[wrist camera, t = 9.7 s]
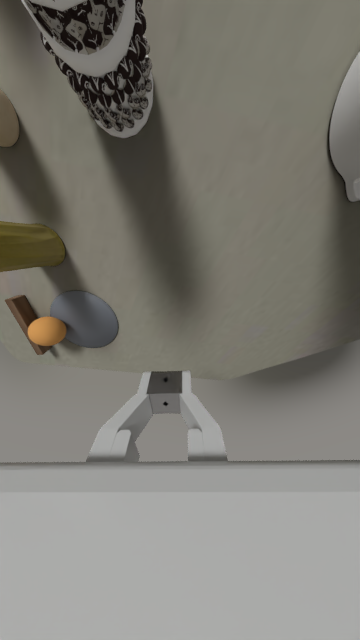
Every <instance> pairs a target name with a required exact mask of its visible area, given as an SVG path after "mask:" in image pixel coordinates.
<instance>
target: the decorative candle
mask: <svg viewBox="0 0 360 640" xmlns="http://www.w3.org/2000/svg"><path fill="white" fill-rule="evenodd" d="M21 1H22V3H23V4H24V6H25V7H26V9H27V10H28V12H29V14H30V15H31V17H32V18H33V20H34V21H35V23H36V25H37V26H38V28H39V29H40V31H41V40H42V43H43V45H44V46H45V48H46V49H47V51H48V52H49V53H50V54H51V55H53V56H55V60H56V63H57V65H58V67H59V69H60V70H61V71H62V73H63V74H65V75H66V76H67V79H68V82H69V84H70V86H71V87H72V89H73V90H74V91H75V92H76V93H77V95H78V97H79V99H80V101H81V102H82V104H83V105H84V106H85V107H86V108H87V109H88V112H89V114H90V115H91V117H92V118H93V119H94V120H95V121H96V123H97V124H98V125H99V126H100V127H101V128H102V129H104V130H105V131H106V132H107V133H109V134H110V135H111V136H116V137H120V138H127V137H130V136H133V135H136V134H137V133H138V132H139V131H140V130H141V129H142V127H143V126H144V125H145V124H146V123H147V120H148V117H149V114H150V111H151V108H152V105H153V78H152V73H151V69H152V63H151V60H150V58H149V57H148V55H147V54H149V52H150V46H149V42H148V40H147V39H146V37H145V36H144V35H143V34H144V33H145V30H146V20H145V16H144V13H143V11H142V9H141V6H142V3H143V0H21Z"/></svg>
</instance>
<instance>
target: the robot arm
mask: <svg viewBox="0 0 360 640" xmlns="http://www.w3.org/2000/svg"><path fill="white" fill-rule="evenodd" d="M329 142H330V152H331V157H332V160H333V163H334V165H335V167H336V169H337V171H338V172H339V173H340V174H341V176H342V177H343V179H344V180H345V183H346V192H347V197H348V199H349V200H350V201H351V202H355V201H359V200H360V52H359V53H358V55H357V56H356V58H355V60H354V61H353V63H352V65H351V67H350V69H349V71H348V73H347V75H346V77H345V79H344V81H343V83H342V86H341V88H340V91H339V94H338V97H337V100H336V103H335V106H334V110H333V114H332V119H331V125H330V138H329ZM159 413H181V415H182V417H183V419H184V421H185V423H186V424H187V427H188V428H189V431H188V461H175V462H174V461H170V462H169V461H167V462H138V461H139V453H138V450H137V447H136V445H135V441H136V439H137V438H138V436H139V435H140V433H141V432H142V430H143V429H144V427H145V426H146V424H147V423H148V421H149V420H150V419H151V417H152V416H153V414H159ZM0 640H360V460H325V461H324V460H321V461H228V460H227V455H226V450H225V445H224V441H223V436H222V431H221V428H220V426H219V425H218V424H217V422H216V421H215V420H214V418H213V417H212V416H211V415H210V413H209V412H208V411H207V409H206V408H205V407H204V405H203V404H202V403H201V402H200V400H199V399H198V398H197V397H196V395H195V394H192V388H191V374H190V371H167V372H154V371H152V372H144V373H143V375H142V378H141V381H140V385H139V388H138V392H137V395H134V396H132V397H131V398H130V399H129V400H128V402H127V403H126V404H124V406H122V407H121V408H120V409H119V411H117V412H116V414H115V415H113V416H112V417H111V419H109V420H108V422H106V423H105V424H104V426H102V428H100V430H99V432H98V435H97V437H96V439H95V441H94V444H93V446H92V449H91V451H90V453H89V455H88V458H87V460H86V462H35V463H34V462H33V463H32V462H27V463H26V462H23V463H0Z"/></svg>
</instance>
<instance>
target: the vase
mask: <svg viewBox="0 0 360 640" xmlns="http://www.w3.org/2000/svg"><path fill="white" fill-rule="evenodd" d="M64 257H65V248H64V245H63V242H62V240H61V239H60V237H59V236H58V235H57V234H56V233H55V232H54V231H53V230H52V229H50V228H49V227H47V226H44V225H41V224H22V223H12V222H4V221H0V272H3V271H12V270H19V269H25V268H33V267H42V266H57V265H59V264H60V263H61V262H62V261H63V260H64Z"/></svg>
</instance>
